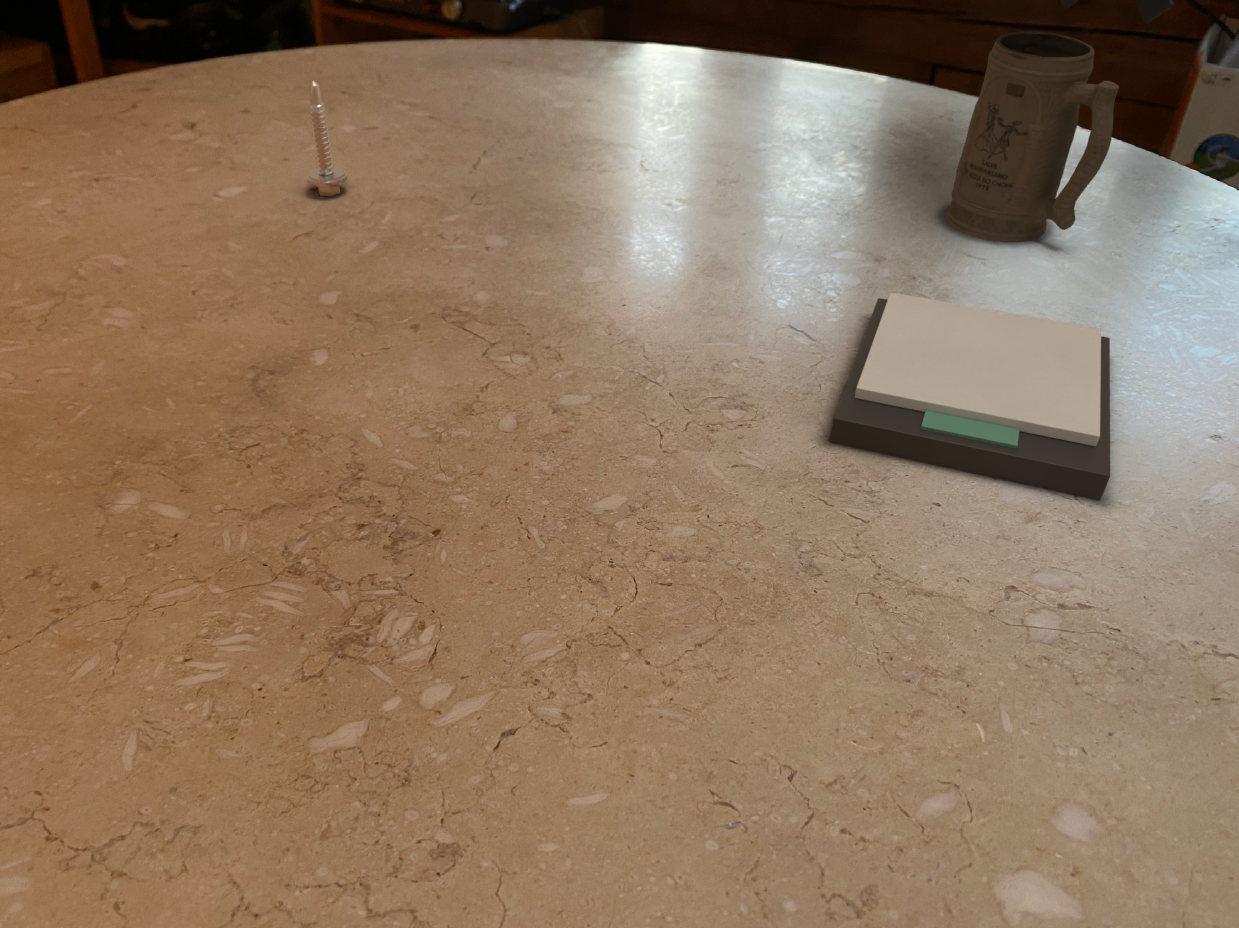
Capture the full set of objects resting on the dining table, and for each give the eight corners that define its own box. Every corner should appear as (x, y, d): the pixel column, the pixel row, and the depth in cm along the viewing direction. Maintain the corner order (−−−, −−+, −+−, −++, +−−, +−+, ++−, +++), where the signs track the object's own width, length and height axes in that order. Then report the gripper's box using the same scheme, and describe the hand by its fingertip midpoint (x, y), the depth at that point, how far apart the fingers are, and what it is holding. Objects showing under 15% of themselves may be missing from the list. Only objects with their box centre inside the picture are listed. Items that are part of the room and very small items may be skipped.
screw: (341, 201, 123) (303, 199, 123) (355, 186, 127) (317, 184, 127) (326, 88, 115) (284, 86, 115) (340, 75, 118) (300, 73, 119)
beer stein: (918, 223, 117) (973, 38, 104) (972, 199, 123) (1030, 20, 109) (1041, 278, 109) (1117, 84, 95) (1092, 250, 114) (1172, 62, 101)
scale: (1098, 367, 93) (1113, 327, 90) (1097, 508, 77) (1115, 464, 74) (872, 326, 99) (880, 287, 96) (827, 449, 83) (835, 407, 80)
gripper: (1083, -135, 109) (1152, 44, 106) (931, -184, 96) (1005, 19, 93) (1152, -194, 103) (1227, -6, 100) (999, -255, 90) (1080, -40, 87)
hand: (1120, 7), depth 96 cm, fingers open, 13 cm apart
